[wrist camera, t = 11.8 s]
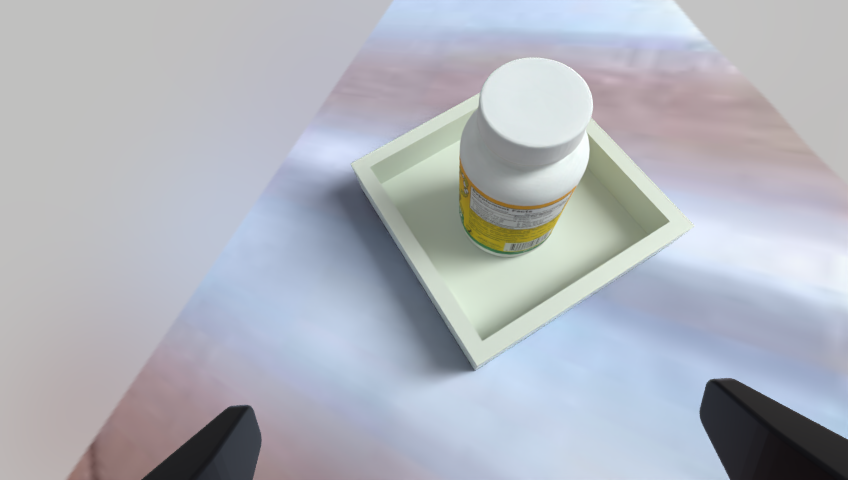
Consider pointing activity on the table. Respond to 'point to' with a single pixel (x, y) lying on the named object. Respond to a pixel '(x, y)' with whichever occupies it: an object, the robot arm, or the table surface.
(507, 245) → the supplement bottle
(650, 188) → the tray
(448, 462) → the table surface
